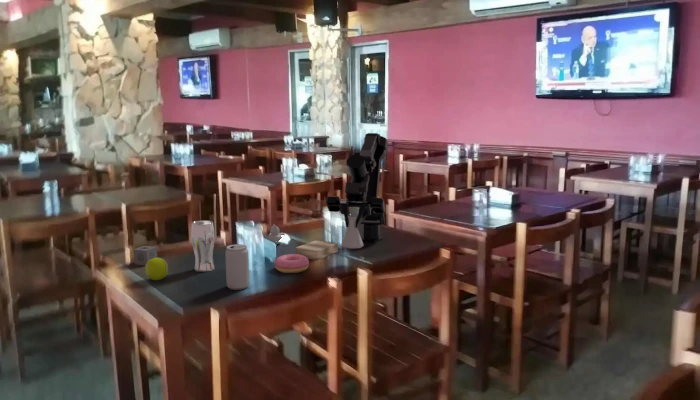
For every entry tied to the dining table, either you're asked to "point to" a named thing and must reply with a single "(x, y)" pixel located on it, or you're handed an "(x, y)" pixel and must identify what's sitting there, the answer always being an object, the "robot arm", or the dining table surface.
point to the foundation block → (317, 249)
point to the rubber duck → (275, 234)
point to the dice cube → (144, 254)
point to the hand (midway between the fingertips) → (351, 226)
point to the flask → (352, 234)
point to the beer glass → (203, 245)
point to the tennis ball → (156, 268)
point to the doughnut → (291, 263)
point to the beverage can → (237, 266)
